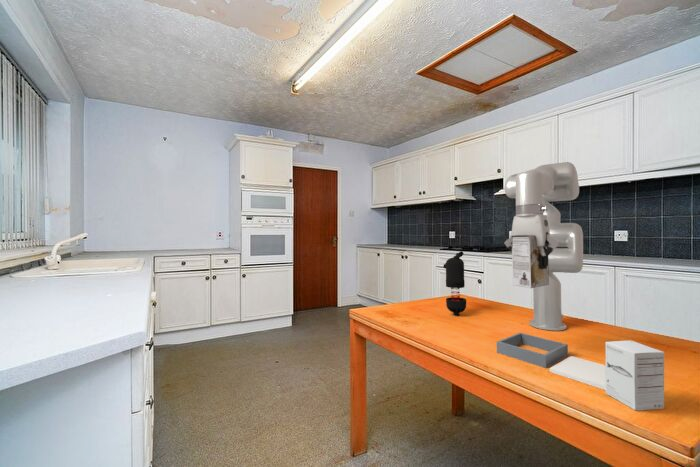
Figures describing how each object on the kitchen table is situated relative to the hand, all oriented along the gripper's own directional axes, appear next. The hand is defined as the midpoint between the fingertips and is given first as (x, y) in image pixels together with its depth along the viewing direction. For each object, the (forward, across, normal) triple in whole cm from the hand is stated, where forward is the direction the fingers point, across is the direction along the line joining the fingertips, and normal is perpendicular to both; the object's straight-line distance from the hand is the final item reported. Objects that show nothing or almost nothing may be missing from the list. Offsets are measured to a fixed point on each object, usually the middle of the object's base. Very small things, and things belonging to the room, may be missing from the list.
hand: (530, 267), depth 99 cm
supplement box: (+28, -27, +10) cm, 40 cm away
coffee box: (+6, 0, 0) cm, 6 cm away
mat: (+27, -16, +2) cm, 32 cm away
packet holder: (+27, 0, 0) cm, 27 cm away
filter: (+28, +44, -20) cm, 56 cm away
